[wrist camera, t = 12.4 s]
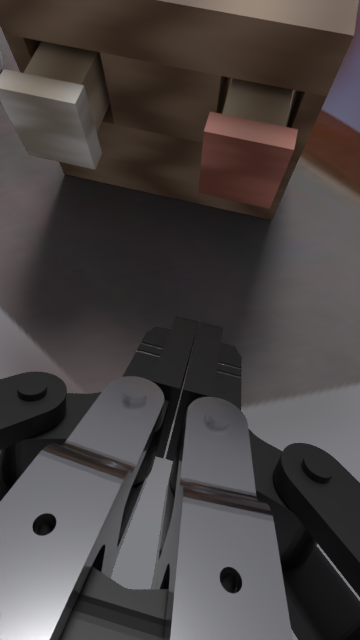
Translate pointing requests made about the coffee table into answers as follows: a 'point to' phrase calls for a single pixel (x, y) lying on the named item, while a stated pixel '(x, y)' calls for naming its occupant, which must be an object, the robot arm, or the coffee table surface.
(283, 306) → the coffee table surface
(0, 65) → the can
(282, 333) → the coffee table surface
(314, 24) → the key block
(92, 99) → the key cream
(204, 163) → the key red
